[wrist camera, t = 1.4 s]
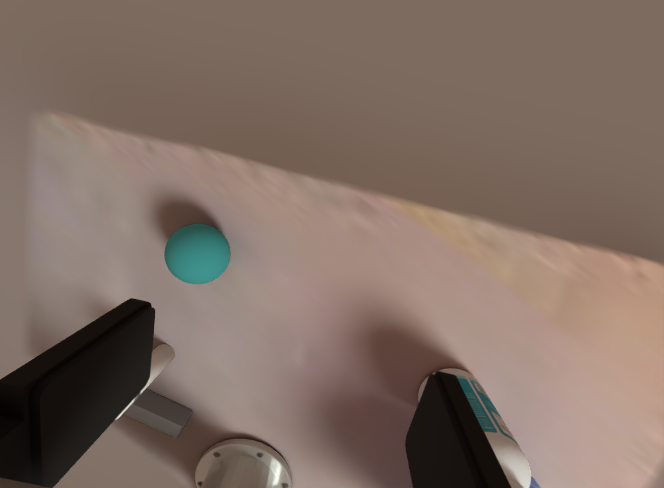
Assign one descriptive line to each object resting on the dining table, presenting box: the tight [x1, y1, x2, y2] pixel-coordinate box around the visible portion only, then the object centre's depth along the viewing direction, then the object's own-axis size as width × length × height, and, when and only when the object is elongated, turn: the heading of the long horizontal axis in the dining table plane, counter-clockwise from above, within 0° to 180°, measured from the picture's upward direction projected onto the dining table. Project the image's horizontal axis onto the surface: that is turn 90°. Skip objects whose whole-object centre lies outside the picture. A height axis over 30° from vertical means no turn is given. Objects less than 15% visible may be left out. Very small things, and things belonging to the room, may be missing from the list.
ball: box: [165, 224, 230, 284], centre depth 31 cm, size 6×6×6 cm
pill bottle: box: [418, 368, 531, 488], centre depth 30 cm, size 8×7×14 cm
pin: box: [115, 344, 175, 420], centre depth 33 cm, size 2×2×9 cm
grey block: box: [123, 389, 192, 439], centre depth 37 cm, size 2×12×2 cm, turn 62°
